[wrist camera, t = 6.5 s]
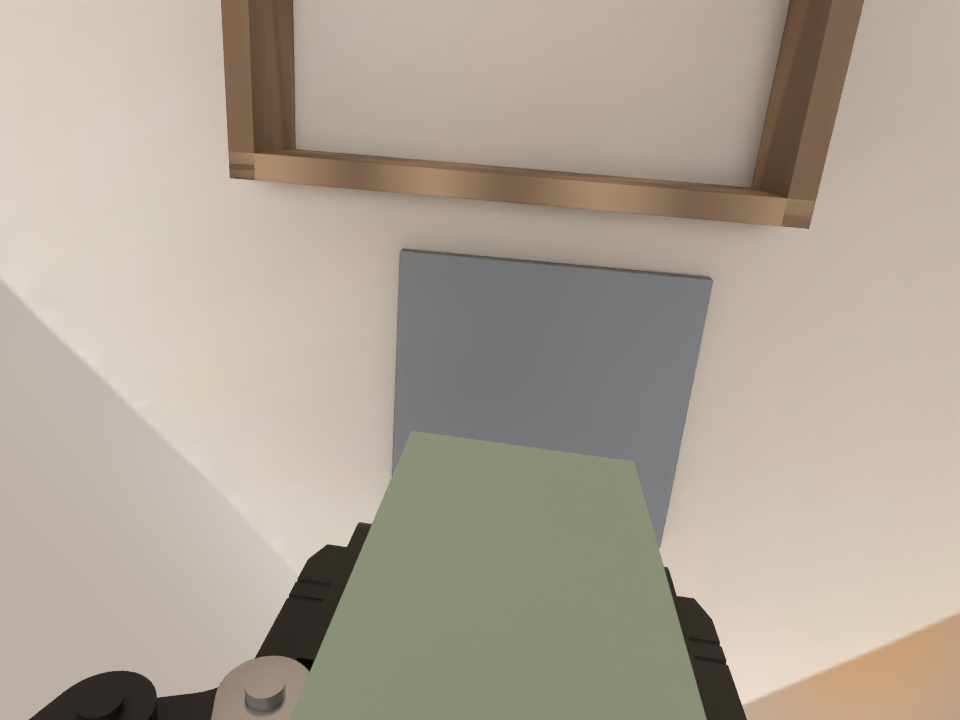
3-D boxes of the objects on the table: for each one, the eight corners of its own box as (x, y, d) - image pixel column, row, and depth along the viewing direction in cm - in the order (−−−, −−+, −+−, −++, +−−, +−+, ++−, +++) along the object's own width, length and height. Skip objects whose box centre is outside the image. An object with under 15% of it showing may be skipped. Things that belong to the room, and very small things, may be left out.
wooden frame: (856, -179, 24) (923, -245, 20) (770, 213, 29) (809, 228, 24) (263, -210, 25) (207, -276, 21) (274, 170, 30) (230, 178, 26)
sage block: (633, 460, 13) (758, 900, 6) (596, 639, 15) (654, 1171, 7) (411, 431, 13) (247, 816, 6) (396, 609, 15) (252, 1098, 7)
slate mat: (709, 277, 30) (712, 280, 29) (658, 541, 35) (660, 547, 34) (402, 248, 31) (399, 251, 30) (393, 510, 35) (390, 516, 35)
